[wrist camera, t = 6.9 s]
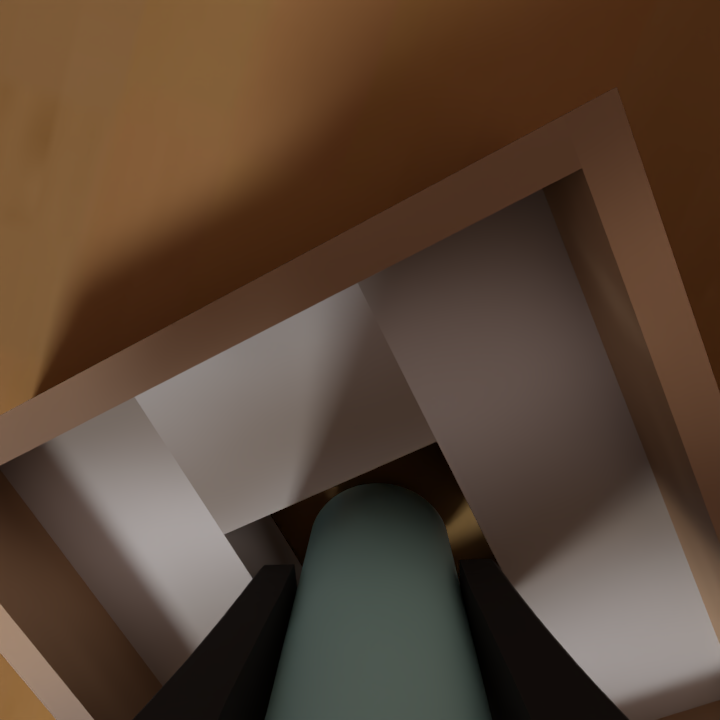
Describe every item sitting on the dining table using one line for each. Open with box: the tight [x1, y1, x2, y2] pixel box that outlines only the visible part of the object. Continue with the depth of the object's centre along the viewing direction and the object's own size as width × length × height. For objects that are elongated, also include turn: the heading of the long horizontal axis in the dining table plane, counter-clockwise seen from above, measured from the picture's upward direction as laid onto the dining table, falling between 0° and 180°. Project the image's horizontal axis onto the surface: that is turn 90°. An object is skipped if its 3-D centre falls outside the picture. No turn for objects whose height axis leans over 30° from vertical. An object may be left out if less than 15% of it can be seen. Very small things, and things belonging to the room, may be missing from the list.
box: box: [0, 87, 720, 720], centre depth 9 cm, size 13×13×4 cm
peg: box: [265, 483, 492, 720], centre depth 7 cm, size 3×3×6 cm
